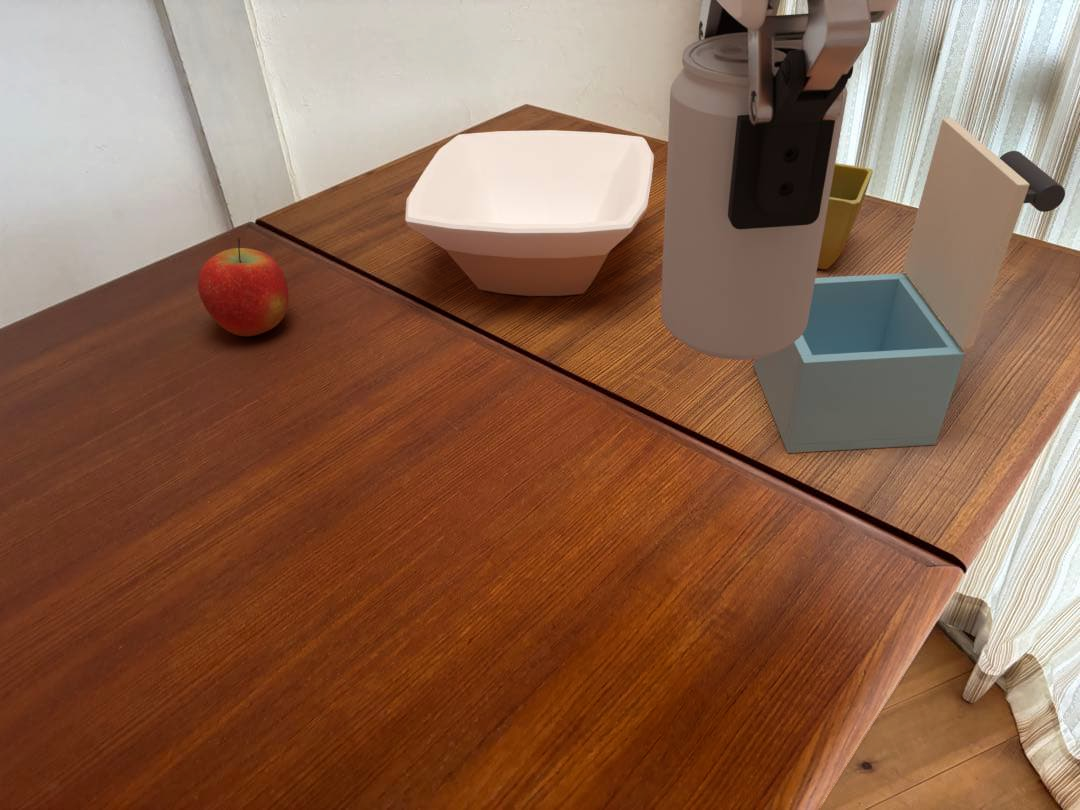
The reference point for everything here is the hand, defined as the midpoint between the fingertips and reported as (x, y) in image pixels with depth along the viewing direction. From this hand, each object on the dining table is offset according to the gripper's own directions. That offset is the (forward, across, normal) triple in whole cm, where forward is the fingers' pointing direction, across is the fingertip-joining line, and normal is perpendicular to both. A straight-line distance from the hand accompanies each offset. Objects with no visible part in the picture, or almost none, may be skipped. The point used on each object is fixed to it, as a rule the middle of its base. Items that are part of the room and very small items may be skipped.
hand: (748, 179), depth 34 cm
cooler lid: (+16, +23, -22) cm, 36 cm away
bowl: (+32, +50, +7) cm, 60 cm away
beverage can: (+7, 0, 0) cm, 7 cm away
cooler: (+31, +24, -17) cm, 43 cm away
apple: (+32, +41, +36) cm, 63 cm away
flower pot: (+32, +49, -22) cm, 62 cm away
